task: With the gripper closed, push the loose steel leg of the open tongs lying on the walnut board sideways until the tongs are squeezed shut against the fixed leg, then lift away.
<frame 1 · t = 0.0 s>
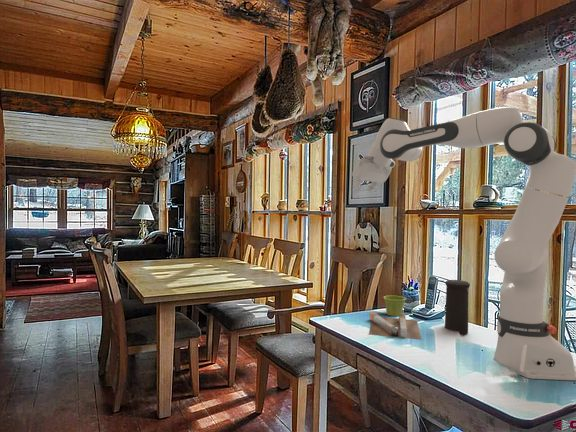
hand: (363, 190, 153), 54 cm above the table, tool tilted 30°, fingers open, 8 cm apart
loose tong leg: (383, 323, 146), point 3 cm above the table, hinge at 25.0°
container: (456, 332, 147), on the table
plant pot: (394, 317, 167), on the table
walnut board: (394, 330, 147), on the table
fixed tong leg: (403, 336, 136), resting on walnut board
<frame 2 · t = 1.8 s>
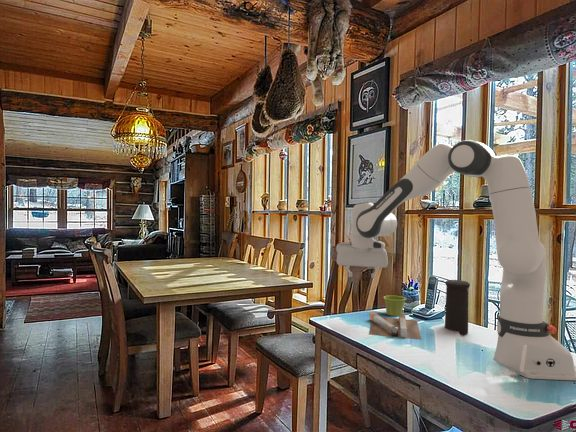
hand: (361, 277, 153), 19 cm above the table, tool pointing down, fingers open, 8 cm apart
nothing on the table moved.
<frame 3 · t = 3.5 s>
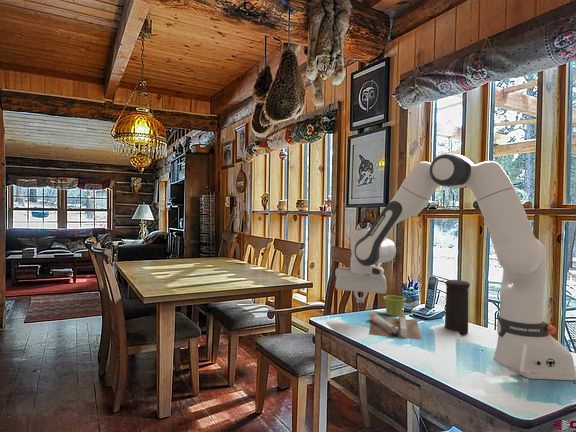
hand: (360, 302, 153), 9 cm above the table, tool pointing down, fingers closed
nothing on the table moved.
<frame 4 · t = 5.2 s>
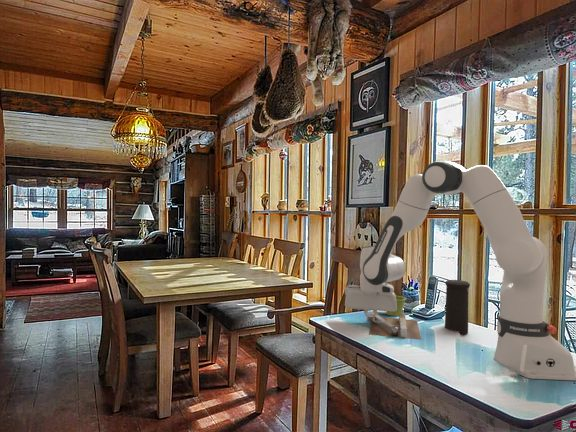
hand: (370, 320, 152), 2 cm above the table, tool pointing down, fingers closed
loose tong leg: (383, 323, 146), point 3 cm above the table, hinge at 25.0°, touching gripper
everything else where it was.
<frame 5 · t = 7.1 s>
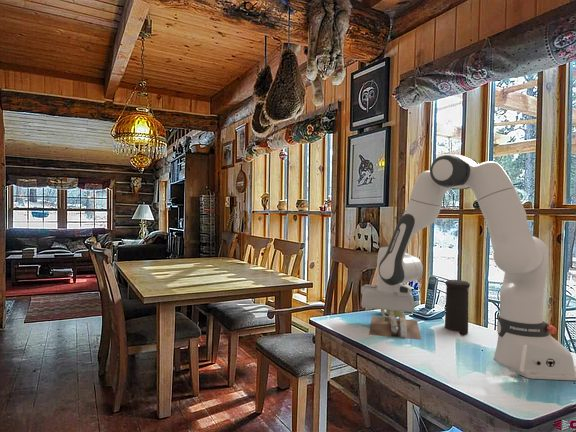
hand: (386, 320, 151), 3 cm above the table, tool pointing down, fingers closed
loose tong leg: (393, 323, 146), point 3 cm above the table, hinge at 1.9°, touching gripper
everything else where it was.
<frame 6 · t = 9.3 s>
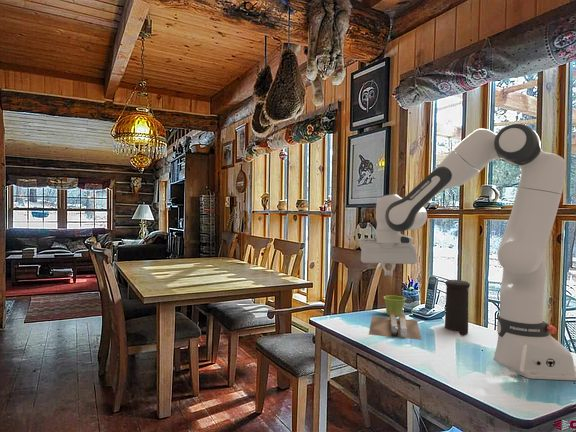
hand: (388, 275, 142), 22 cm above the table, tool pointing down, fingers closed
loose tong leg: (393, 323, 146), point 3 cm above the table, hinge at 1.9°
everything else where it was.
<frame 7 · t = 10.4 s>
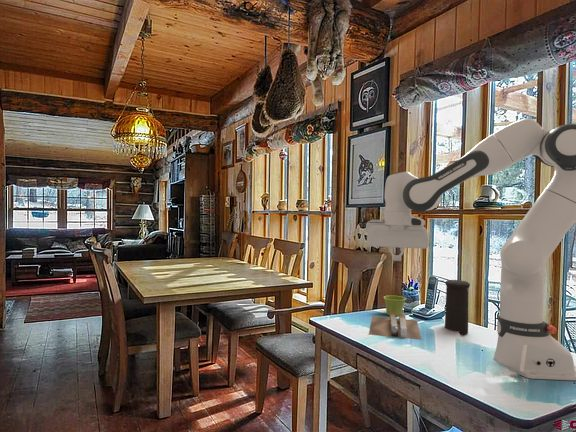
hand: (396, 260, 130), 29 cm above the table, tool pointing down, fingers closed
nothing on the table moved.
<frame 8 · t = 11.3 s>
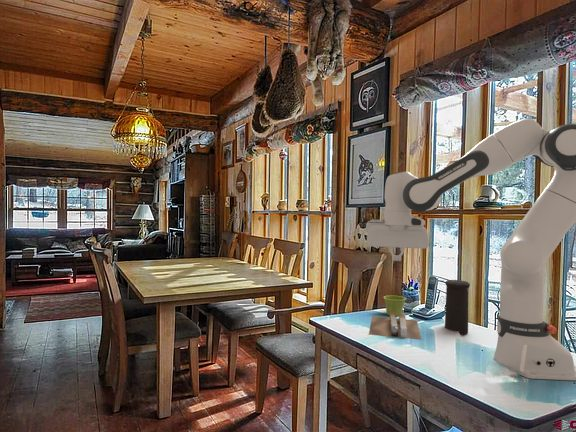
hand: (396, 260, 130), 29 cm above the table, tool pointing down, fingers closed
nothing on the table moved.
at the end: loose tong leg at +2° (first picture: +25°); plant pot moved 0.3 cm from its start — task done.
